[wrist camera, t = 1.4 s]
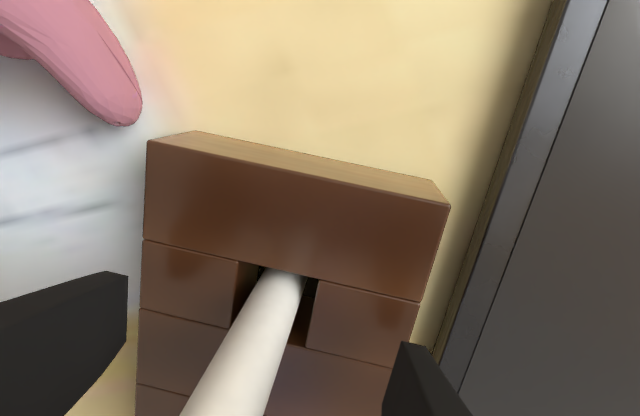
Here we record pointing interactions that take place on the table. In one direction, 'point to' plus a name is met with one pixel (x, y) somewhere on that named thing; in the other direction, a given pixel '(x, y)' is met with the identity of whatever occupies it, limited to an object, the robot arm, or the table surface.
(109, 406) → the table surface
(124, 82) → the pink curved piece
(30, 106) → the table surface
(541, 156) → the tablet
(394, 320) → the pen holder
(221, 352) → the white rounded rod
